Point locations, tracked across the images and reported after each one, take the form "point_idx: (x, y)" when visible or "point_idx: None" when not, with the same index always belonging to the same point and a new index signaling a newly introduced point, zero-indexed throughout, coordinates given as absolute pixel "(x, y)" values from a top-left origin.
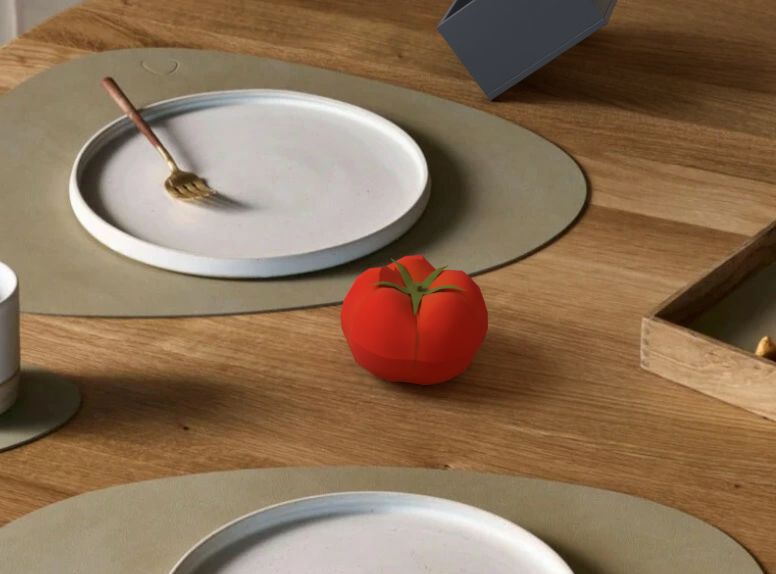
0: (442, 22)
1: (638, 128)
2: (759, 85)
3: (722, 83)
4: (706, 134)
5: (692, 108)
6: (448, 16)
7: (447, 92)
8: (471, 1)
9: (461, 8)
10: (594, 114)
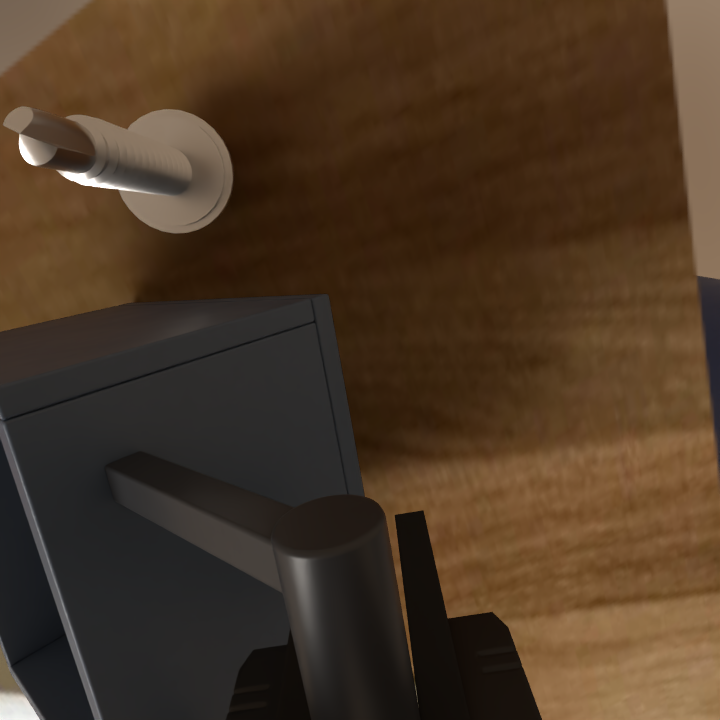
0: (12, 673)
1: (477, 518)
2: (667, 181)
3: (587, 220)
4: (600, 474)
5: (552, 380)
6: (2, 627)
7: None
8: (39, 715)
9: (28, 694)
10: (386, 508)
